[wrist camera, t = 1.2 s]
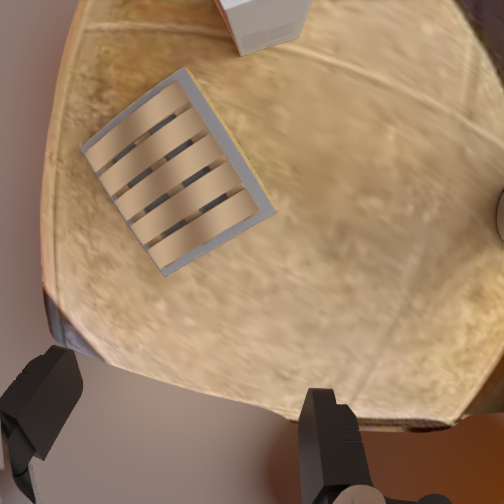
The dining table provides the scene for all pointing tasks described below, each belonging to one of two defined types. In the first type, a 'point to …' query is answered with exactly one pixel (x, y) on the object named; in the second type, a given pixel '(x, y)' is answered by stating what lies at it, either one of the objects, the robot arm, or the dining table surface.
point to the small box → (262, 22)
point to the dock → (232, 154)
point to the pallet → (170, 176)
